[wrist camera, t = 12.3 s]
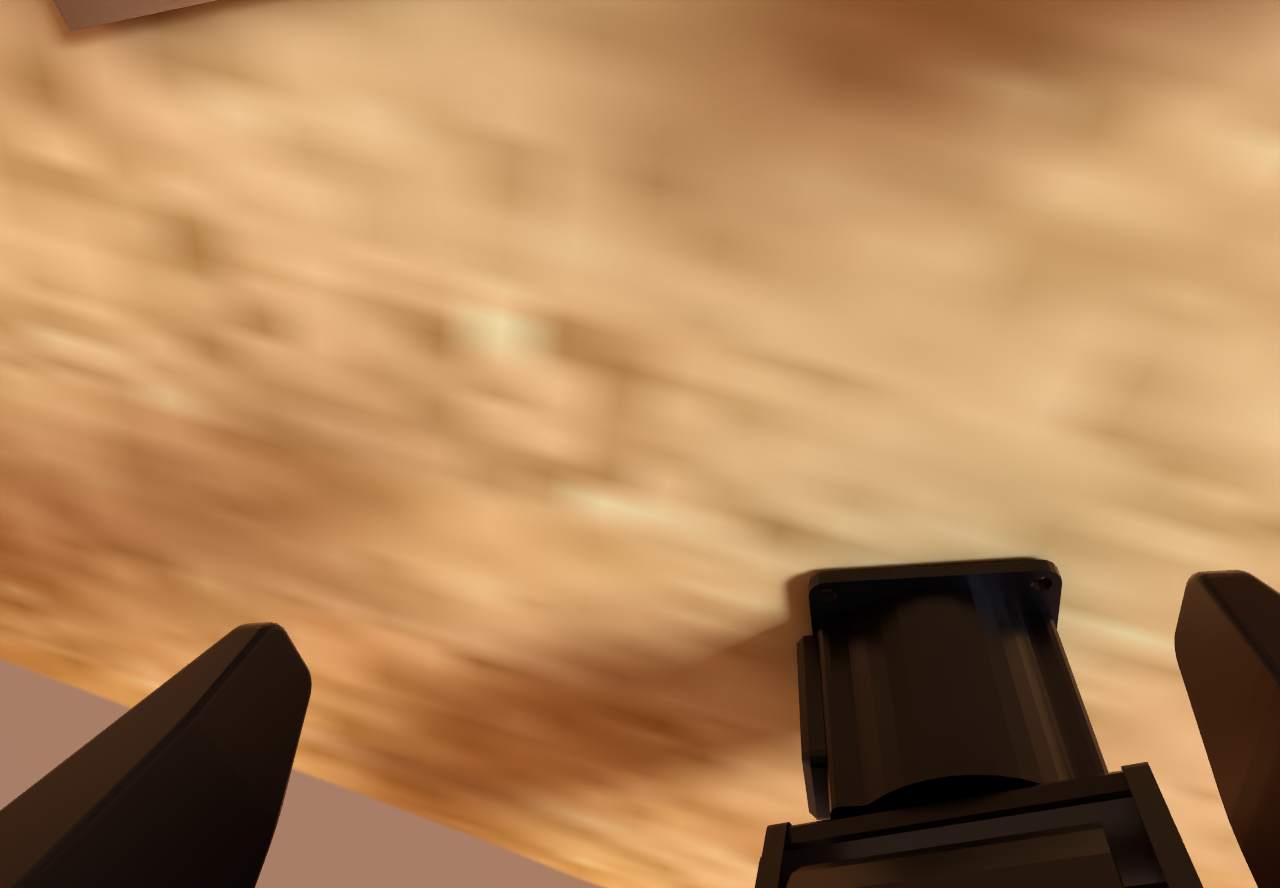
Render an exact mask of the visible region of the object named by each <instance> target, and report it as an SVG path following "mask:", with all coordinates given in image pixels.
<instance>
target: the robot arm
mask: <svg viewBox="0 0 1280 888" xmlns="http://www.w3.org/2000/svg"><path fill="white" fill-rule="evenodd" d="M1040 577H1045V578H1043V579H1041V580H1035V579H1037V578H1040ZM1061 588H1062V580H1061V576H1060V574H1059V571H1058V569H1057V567H1056V566H1055V564H1054V563H1052V562H1050V561H1047V560H1024V561H1007V562H990V563H973V564H956V565H939V566H922V567H905V568H888V569H871V570H854V571H838V572H824V573H819V574H817V575H815V576H813V577H812V578H811V579H810V581H809V584H808V592H809V603H810V612H811V621H812V630H813V635H806V636H803V637H802V638H801V639H800V640H799V641H798V642H797V662H798V684H799V706H800V728H801V750H802V763H803V771H804V778H805V785H806V792H807V800H808V807H809V812H810V813H811V814H812V815H813V816H814V817H815V818H816V819H817V820H822V821H816V822H810V823H804V824H798V825H791V824H790V823H789V822H786V823H781V824H775V825H769V826H767V830H766V835H765V841H764V847H763V852H762V857H761V858H760V861H759V867H758V873H757V878H756V884H755V888H1203V886H1202V884H1201V881H1200V879H1199V877H1198V875H1197V872H1196V870H1195V868H1194V866H1193V863H1192V861H1191V859H1190V857H1189V854H1188V852H1187V850H1186V848H1185V845H1184V843H1183V841H1182V839H1181V836H1180V834H1179V832H1178V830H1177V827H1176V825H1175V823H1174V821H1173V818H1172V816H1171V814H1170V812H1169V809H1168V807H1167V805H1166V802H1165V800H1164V798H1163V796H1162V793H1161V791H1160V789H1159V787H1158V784H1157V782H1156V780H1155V778H1154V775H1153V773H1152V771H1151V769H1150V766H1149V764H1148V762H1143V763H1137V764H1131V765H1125V766H1121V769H1122V771H1116V772H1110V773H1108V770H1107V767H1106V764H1105V762H1104V759H1103V756H1102V753H1101V751H1100V748H1099V745H1098V742H1097V739H1096V737H1095V734H1094V731H1093V728H1092V726H1091V723H1090V720H1089V717H1088V715H1087V712H1086V709H1085V706H1084V704H1083V701H1082V698H1081V695H1080V693H1079V690H1078V687H1077V684H1076V681H1075V679H1074V676H1073V673H1072V670H1071V668H1070V665H1069V662H1068V659H1067V657H1066V654H1065V651H1064V648H1063V646H1062V643H1061V640H1060V637H1059V634H1058V632H1057V623H1058V614H1059V605H1060V597H1061ZM824 589H831V590H832V591H829V592H824V591H821V590H824ZM1175 652H1176V658H1177V661H1178V665H1179V668H1180V671H1181V674H1182V677H1183V681H1184V684H1185V687H1186V690H1187V693H1188V696H1189V699H1190V702H1191V706H1192V709H1193V712H1194V715H1195V718H1196V721H1197V724H1198V728H1199V731H1200V734H1201V737H1202V740H1203V743H1204V746H1205V749H1206V753H1207V756H1208V759H1209V762H1210V765H1211V768H1212V771H1213V774H1214V778H1215V781H1216V784H1217V787H1218V790H1219V793H1220V796H1221V799H1222V802H1223V805H1224V808H1225V811H1226V814H1227V817H1228V819H1229V822H1230V825H1231V827H1232V829H1233V832H1234V834H1235V837H1236V839H1237V841H1238V844H1239V846H1240V848H1241V851H1242V853H1243V855H1244V857H1245V860H1246V862H1247V864H1248V866H1249V868H1250V871H1251V873H1252V875H1253V877H1254V880H1255V882H1256V884H1257V886H1258V888H1280V593H1279V592H1277V591H1276V590H1274V589H1273V588H1271V587H1270V586H1268V585H1267V584H1265V583H1264V582H1262V581H1261V580H1259V579H1258V578H1257V577H1255V576H1253V575H1252V574H1250V573H1247V572H1245V571H1241V570H1226V571H1207V572H1198V573H1195V574H1193V575H1192V576H1191V577H1190V578H1189V579H1188V582H1187V584H1186V588H1185V592H1184V597H1183V601H1182V605H1181V610H1180V614H1179V618H1178V623H1177V627H1176V631H1175ZM311 685H312V683H311V675H310V672H309V669H308V667H307V666H306V664H305V662H304V661H303V659H302V657H301V656H300V654H299V652H298V651H297V649H296V647H295V646H294V644H293V642H292V641H291V639H290V637H289V636H288V634H287V632H286V631H285V630H284V628H283V627H282V626H280V625H279V624H277V623H272V622H269V623H251V624H244V625H240V626H238V627H236V628H235V629H233V630H232V631H231V632H230V633H228V634H227V635H226V636H224V637H223V638H222V639H220V640H219V641H218V642H217V643H215V644H214V645H213V646H211V647H210V648H209V649H208V650H206V651H205V652H204V653H202V654H201V655H200V656H199V657H197V658H196V659H195V660H193V661H192V662H191V663H190V664H188V665H187V666H186V667H184V668H183V669H182V670H181V671H179V672H178V673H177V674H175V675H174V676H173V677H172V678H170V679H169V680H168V681H166V682H165V683H164V684H163V685H161V686H160V687H159V688H157V689H156V690H155V691H154V692H152V693H151V694H150V695H148V696H147V697H146V698H145V699H143V700H142V701H141V702H139V703H138V704H137V705H136V706H134V707H133V708H132V709H130V710H129V711H128V712H127V713H125V714H124V715H123V716H121V717H120V718H119V719H118V720H116V721H115V722H114V723H112V724H111V725H110V726H109V727H107V728H106V729H105V730H103V731H102V732H101V733H100V734H98V735H97V736H96V737H94V738H93V739H92V740H90V741H89V742H88V743H87V744H85V745H84V746H83V747H81V748H80V749H79V750H78V751H76V752H75V753H74V754H72V755H71V756H70V757H69V758H67V759H66V760H65V761H63V762H62V763H61V764H60V765H58V766H57V767H56V768H54V769H53V770H52V771H51V772H49V773H48V774H47V775H45V776H44V777H43V778H42V779H40V780H39V781H38V782H36V783H35V784H34V785H33V786H31V787H30V788H29V789H27V790H26V791H25V792H24V793H22V794H21V795H20V796H18V797H17V798H16V799H15V800H13V801H12V802H11V803H9V804H8V805H7V806H6V807H4V808H3V809H2V810H0V888H255V886H256V883H257V880H258V878H259V875H260V872H261V869H262V866H263V864H264V861H265V858H266V856H267V853H268V850H269V847H270V844H271V841H272V838H273V835H274V832H275V829H276V826H277V823H278V819H279V816H280V812H281V809H282V805H283V801H284V798H285V793H286V790H287V786H288V782H289V778H290V774H291V770H292V766H293V762H294V758H295V754H296V750H297V746H298V742H299V738H300V734H301V730H302V727H303V723H304V719H305V715H306V711H307V707H308V703H309V699H310V695H311Z"/></svg>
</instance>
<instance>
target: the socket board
mask: <svg viewBox="0 0 1280 888" xmlns="http://www.w3.org/2000/svg"><path fill="white" fill-rule="evenodd" d="M54 1H55V3H56V5H57V7H58V9H59V11H60V13H61V15H62V17H63V19H64V21H65V23H66V25H67V27H68V29H69V31H75V30H79V29H84V28H89V27H93V26H98V25H103V24H107V23H112V22H117V21H121V20H126V19H131V18H136V17H140V16H145V15H150V14H154V13H159V12H164V11H168V10H173V9H178V8H182V7H187V6H192V5H196V4H201V3H206V2H211V1H215V0H54Z"/></svg>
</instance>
